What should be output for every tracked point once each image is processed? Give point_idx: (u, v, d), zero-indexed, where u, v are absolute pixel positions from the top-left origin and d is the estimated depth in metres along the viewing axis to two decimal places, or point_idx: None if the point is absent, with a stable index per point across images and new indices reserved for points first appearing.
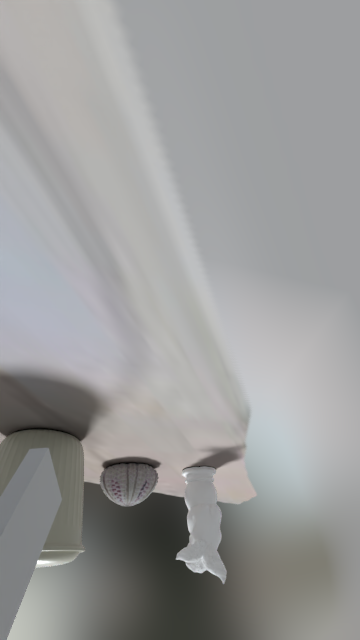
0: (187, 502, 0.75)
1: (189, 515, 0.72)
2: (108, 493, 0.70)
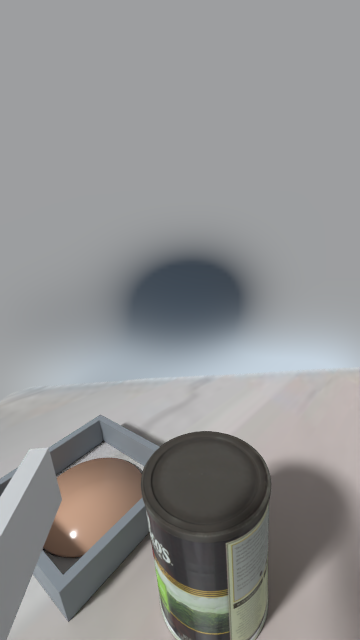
0: None
1: None
2: None
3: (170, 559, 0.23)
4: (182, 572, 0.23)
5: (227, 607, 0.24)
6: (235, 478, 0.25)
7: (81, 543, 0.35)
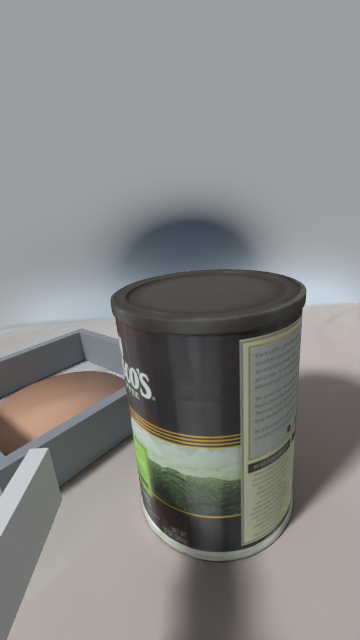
0: None
1: None
2: None
3: (151, 389, 0.15)
4: (169, 406, 0.15)
5: (238, 468, 0.15)
6: (252, 289, 0.17)
7: None
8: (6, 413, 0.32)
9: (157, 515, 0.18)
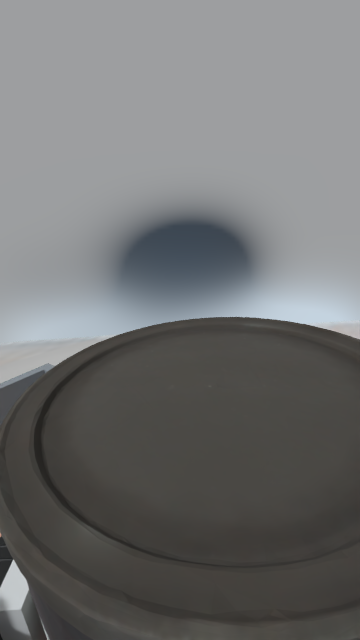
0: None
1: None
2: None
3: None
4: None
5: None
6: (323, 394, 0.07)
7: None
8: None
9: None
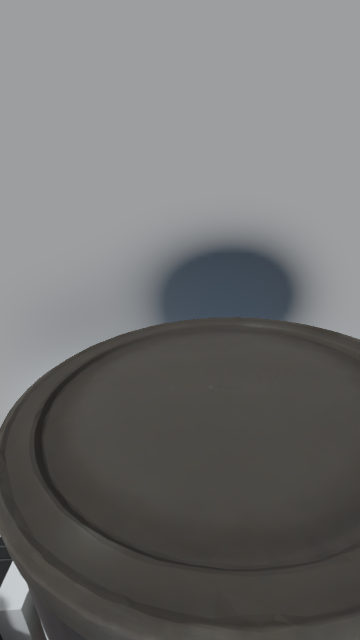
0: None
1: None
2: None
3: None
4: None
5: None
6: (325, 395, 0.07)
7: None
8: None
9: None
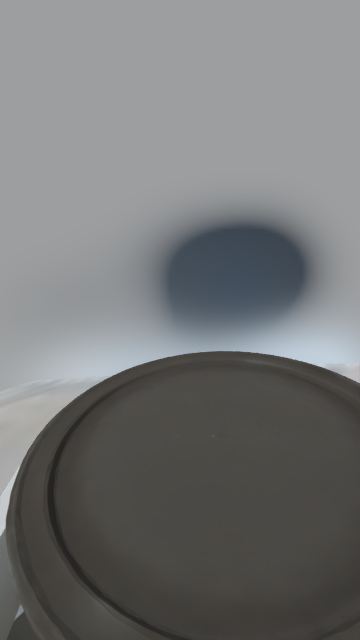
0: None
1: None
2: None
3: None
4: None
5: None
6: (323, 448, 0.08)
7: None
8: None
9: None
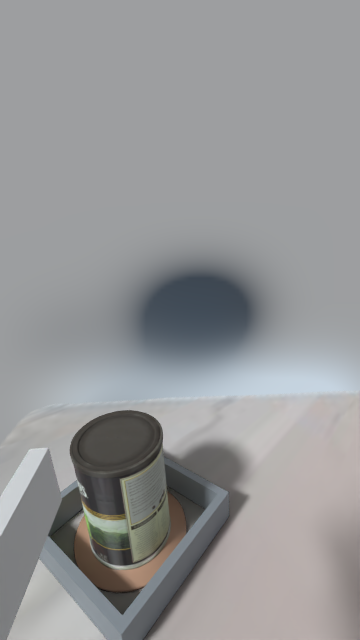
0: None
1: None
2: None
3: (86, 493, 0.33)
4: (94, 502, 0.33)
5: (126, 528, 0.34)
6: (137, 440, 0.35)
7: (128, 577, 0.35)
8: (88, 538, 0.40)
9: (94, 547, 0.37)
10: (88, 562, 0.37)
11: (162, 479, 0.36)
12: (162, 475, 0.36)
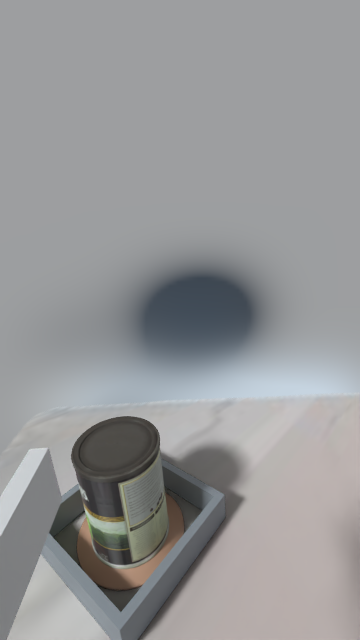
0: None
1: None
2: None
3: (87, 497, 0.35)
4: (94, 505, 0.35)
5: (125, 530, 0.36)
6: (135, 446, 0.37)
7: (128, 576, 0.37)
8: (90, 538, 0.41)
9: (95, 547, 0.39)
10: (90, 561, 0.39)
11: (159, 483, 0.38)
12: (159, 479, 0.38)
